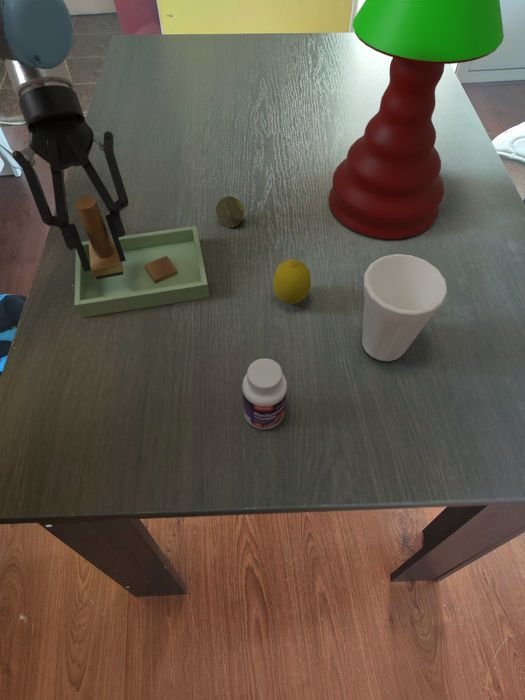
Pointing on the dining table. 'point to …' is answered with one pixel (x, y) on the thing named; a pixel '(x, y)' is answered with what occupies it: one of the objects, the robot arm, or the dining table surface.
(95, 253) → the cylinder on block base
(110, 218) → the robot arm
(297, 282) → the lemon
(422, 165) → the table lamp
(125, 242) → the tray
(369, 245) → the dining table surface
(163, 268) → the flat brown square tile
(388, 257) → the cup
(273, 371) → the pill bottle
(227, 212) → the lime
